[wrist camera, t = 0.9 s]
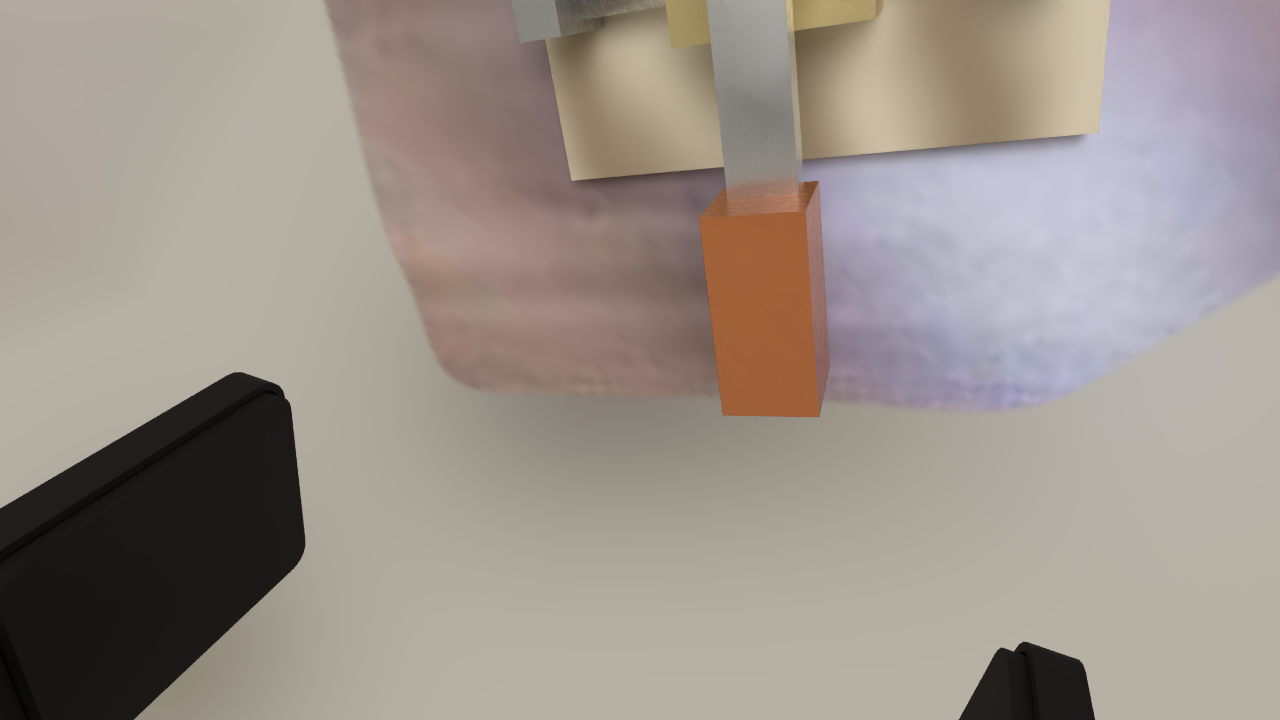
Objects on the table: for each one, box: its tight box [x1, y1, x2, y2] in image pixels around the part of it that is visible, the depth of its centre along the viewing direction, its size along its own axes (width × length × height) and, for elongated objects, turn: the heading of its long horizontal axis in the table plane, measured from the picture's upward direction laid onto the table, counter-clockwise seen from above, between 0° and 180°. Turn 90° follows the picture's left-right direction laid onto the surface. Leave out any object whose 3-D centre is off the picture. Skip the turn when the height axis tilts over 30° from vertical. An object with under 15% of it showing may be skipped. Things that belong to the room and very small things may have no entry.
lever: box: [699, 0, 830, 417], centre depth 21 cm, size 15×3×3 cm, turn 9°
